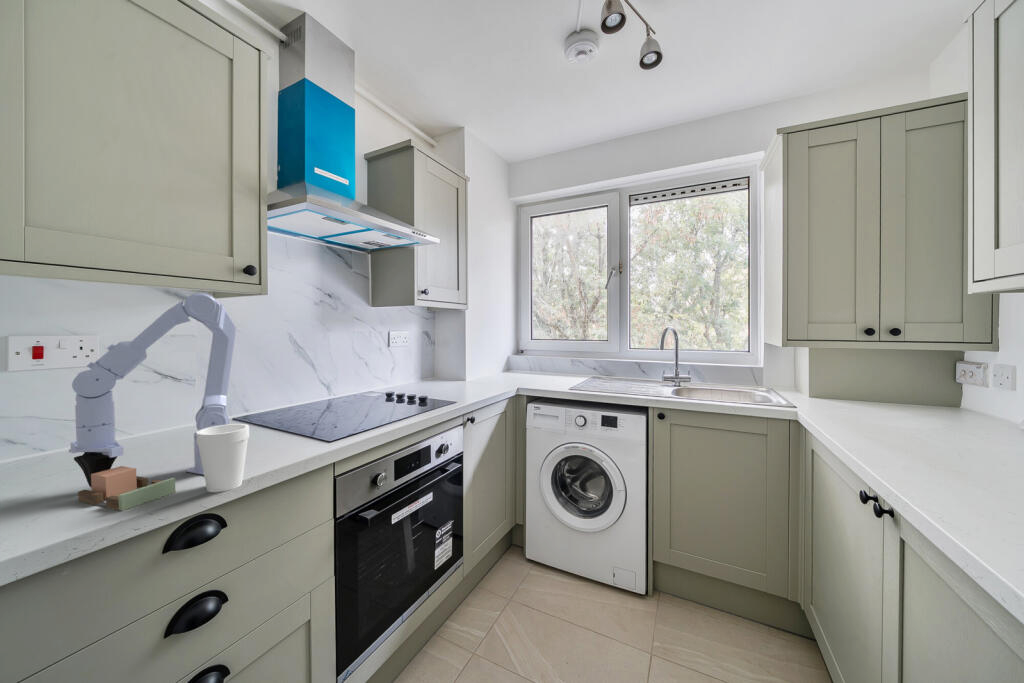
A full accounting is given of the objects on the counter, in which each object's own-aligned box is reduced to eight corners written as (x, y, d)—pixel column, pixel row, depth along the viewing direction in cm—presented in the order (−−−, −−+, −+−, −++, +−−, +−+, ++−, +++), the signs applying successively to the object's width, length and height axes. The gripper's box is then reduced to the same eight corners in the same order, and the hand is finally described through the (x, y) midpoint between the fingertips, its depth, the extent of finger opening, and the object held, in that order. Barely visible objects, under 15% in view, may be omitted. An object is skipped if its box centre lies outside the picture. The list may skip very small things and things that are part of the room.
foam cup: (259, 478, 90) (258, 423, 90) (231, 495, 81) (230, 434, 80) (218, 478, 90) (217, 424, 89) (186, 495, 80) (184, 434, 80)
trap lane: (133, 484, 86) (133, 471, 86) (175, 492, 82) (175, 478, 82) (78, 501, 78) (78, 486, 78) (122, 510, 74) (121, 495, 74)
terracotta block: (122, 488, 85) (121, 466, 84) (136, 491, 83) (136, 468, 83) (91, 497, 80) (91, 474, 80) (106, 500, 78) (105, 476, 78)
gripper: (49, 426, 81) (52, 488, 82) (91, 431, 77) (93, 497, 77) (94, 418, 88) (96, 476, 88) (134, 423, 83) (136, 484, 84)
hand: (97, 485), depth 83 cm, fingers closed
